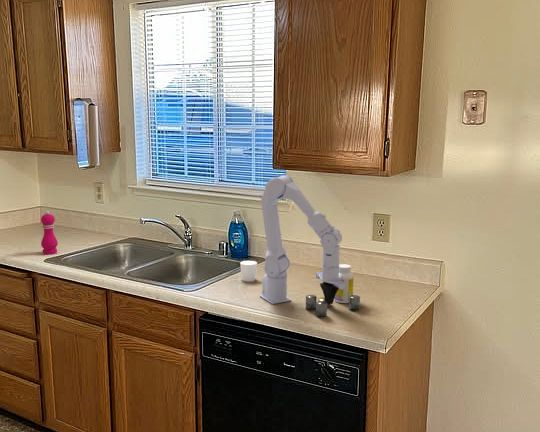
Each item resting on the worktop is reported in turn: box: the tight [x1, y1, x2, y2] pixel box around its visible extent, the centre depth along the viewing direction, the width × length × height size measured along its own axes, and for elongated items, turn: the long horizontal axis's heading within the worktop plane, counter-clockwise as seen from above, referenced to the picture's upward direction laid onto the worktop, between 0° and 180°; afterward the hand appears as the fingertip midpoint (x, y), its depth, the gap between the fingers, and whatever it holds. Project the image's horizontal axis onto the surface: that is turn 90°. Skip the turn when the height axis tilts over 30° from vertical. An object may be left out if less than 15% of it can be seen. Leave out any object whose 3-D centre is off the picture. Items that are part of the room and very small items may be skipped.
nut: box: [317, 296, 332, 308], centre depth 191 cm, size 4×4×2 cm
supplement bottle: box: [334, 263, 354, 304], centre depth 194 cm, size 7×7×13 cm
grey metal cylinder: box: [348, 294, 361, 312], centre depth 187 cm, size 4×4×4 cm
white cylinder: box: [239, 260, 258, 283], centre depth 219 cm, size 7×7×7 cm
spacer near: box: [305, 294, 318, 312], centre depth 186 cm, size 4×4×4 cm
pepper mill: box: [40, 210, 59, 256], centre depth 255 cm, size 7×7×20 cm
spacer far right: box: [315, 300, 328, 319], centre depth 180 cm, size 4×4×4 cm
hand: (329, 303), depth 188 cm, fingers closed
